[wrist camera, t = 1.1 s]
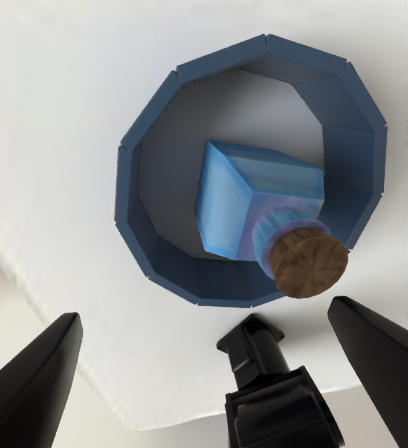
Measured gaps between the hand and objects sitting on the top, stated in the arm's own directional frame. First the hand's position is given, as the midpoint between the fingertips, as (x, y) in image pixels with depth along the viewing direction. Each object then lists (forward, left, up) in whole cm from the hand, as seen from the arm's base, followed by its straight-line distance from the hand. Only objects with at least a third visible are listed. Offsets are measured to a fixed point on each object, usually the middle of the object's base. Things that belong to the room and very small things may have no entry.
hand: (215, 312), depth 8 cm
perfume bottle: (-3, -3, -13) cm, 14 cm away
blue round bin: (-3, -3, -13) cm, 14 cm away
